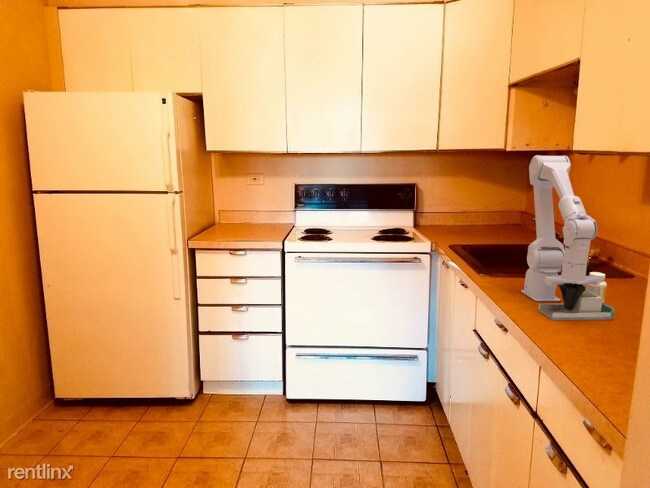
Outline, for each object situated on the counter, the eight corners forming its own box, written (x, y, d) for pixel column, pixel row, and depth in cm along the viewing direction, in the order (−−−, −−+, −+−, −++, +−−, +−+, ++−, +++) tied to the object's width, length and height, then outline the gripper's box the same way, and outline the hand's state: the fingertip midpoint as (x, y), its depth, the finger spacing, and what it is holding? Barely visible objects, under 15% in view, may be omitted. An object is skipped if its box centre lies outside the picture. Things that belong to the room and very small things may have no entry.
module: (569, 309, 124) (572, 291, 123) (589, 309, 124) (592, 291, 123) (579, 315, 119) (582, 297, 118) (600, 315, 120) (603, 297, 119)
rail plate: (553, 320, 118) (554, 309, 117) (538, 310, 125) (539, 299, 124) (612, 319, 119) (614, 308, 118) (594, 309, 126) (596, 299, 125)
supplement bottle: (595, 301, 133) (600, 271, 130) (607, 308, 127) (612, 276, 125) (578, 301, 132) (583, 271, 130) (589, 308, 127) (594, 276, 125)
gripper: (557, 266, 114) (551, 314, 117) (610, 266, 115) (602, 314, 118) (543, 259, 121) (537, 305, 124) (593, 259, 122) (586, 304, 125)
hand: (568, 308), depth 121 cm, fingers closed
